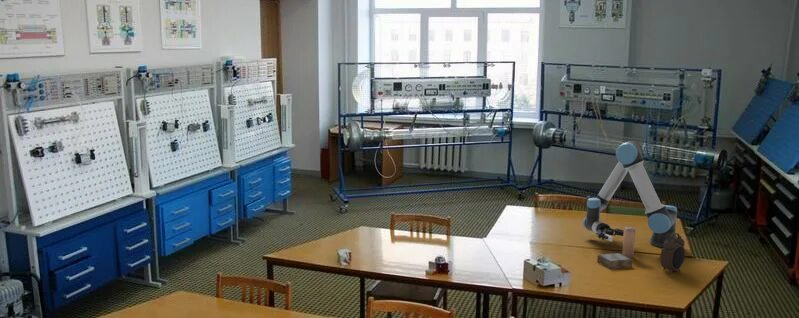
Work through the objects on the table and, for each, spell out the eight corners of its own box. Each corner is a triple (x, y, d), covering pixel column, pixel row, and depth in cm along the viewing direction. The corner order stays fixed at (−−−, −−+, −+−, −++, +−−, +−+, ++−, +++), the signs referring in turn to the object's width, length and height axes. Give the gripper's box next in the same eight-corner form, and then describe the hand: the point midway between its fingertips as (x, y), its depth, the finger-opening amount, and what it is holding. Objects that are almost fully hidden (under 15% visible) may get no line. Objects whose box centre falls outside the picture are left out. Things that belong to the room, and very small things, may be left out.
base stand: (618, 260, 383) (619, 252, 382) (631, 266, 372) (632, 259, 371) (597, 261, 379) (597, 254, 378) (610, 268, 368) (610, 261, 367)
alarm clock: (670, 276, 358) (674, 237, 354) (657, 272, 363) (660, 234, 360) (686, 270, 367) (689, 232, 363) (673, 267, 372) (676, 229, 369)
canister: (629, 254, 393) (631, 226, 390) (635, 257, 387) (637, 229, 385) (619, 255, 391) (621, 227, 389) (626, 258, 385) (628, 229, 383)
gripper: (619, 233, 416) (641, 243, 396) (581, 236, 409) (602, 246, 389) (620, 221, 415) (642, 230, 395) (582, 223, 408) (603, 233, 388)
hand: (622, 238), depth 392 cm, fingers open, 13 cm apart
